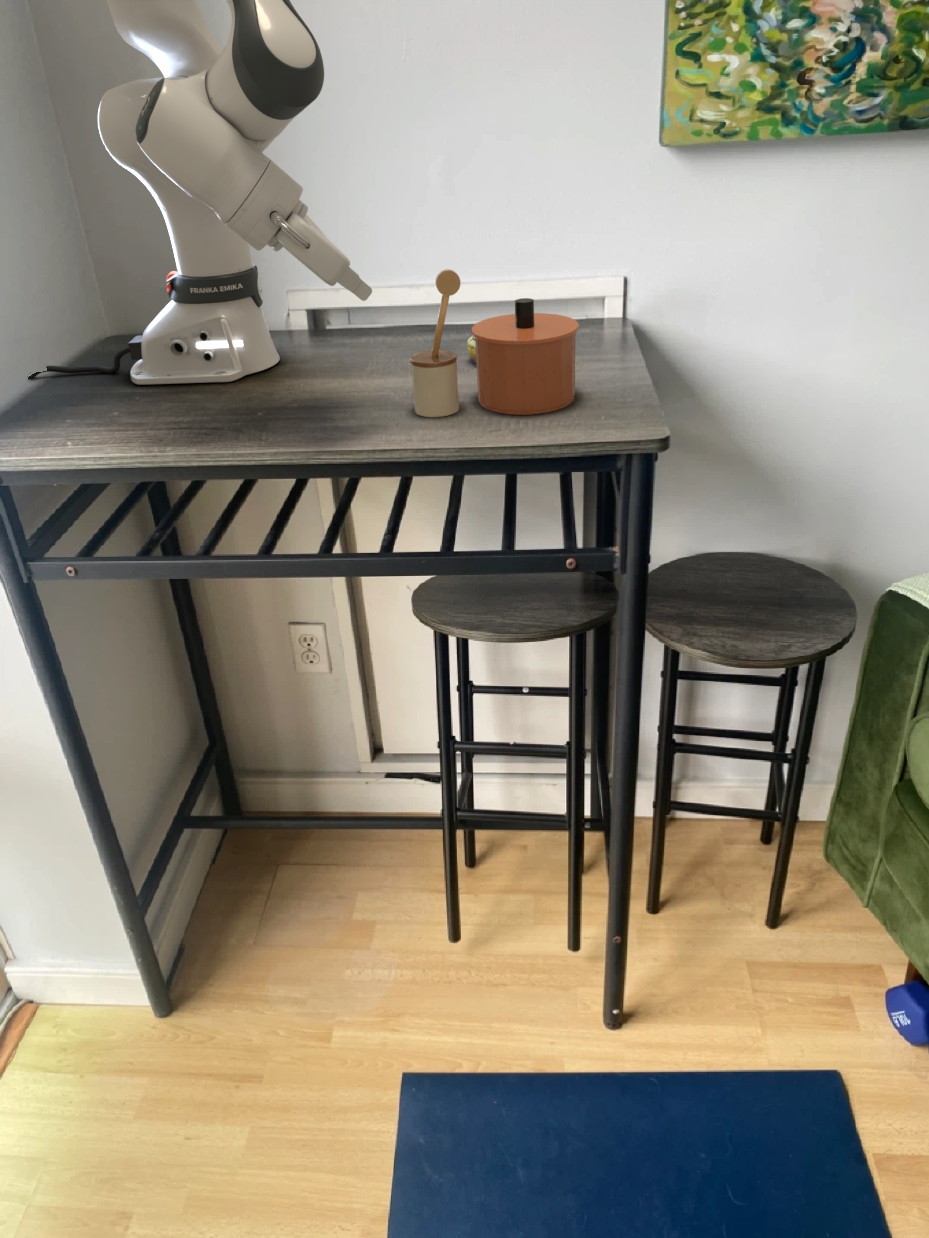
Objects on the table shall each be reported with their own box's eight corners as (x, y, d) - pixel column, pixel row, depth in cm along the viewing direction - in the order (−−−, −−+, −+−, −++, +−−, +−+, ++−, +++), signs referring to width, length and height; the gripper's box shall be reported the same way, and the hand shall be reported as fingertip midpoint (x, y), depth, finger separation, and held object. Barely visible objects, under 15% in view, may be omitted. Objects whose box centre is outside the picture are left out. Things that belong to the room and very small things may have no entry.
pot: (486, 419, 119) (482, 347, 114) (473, 388, 130) (469, 322, 125) (583, 409, 120) (584, 338, 115) (563, 380, 131) (563, 314, 126)
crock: (416, 419, 120) (404, 278, 111) (412, 404, 125) (401, 269, 116) (470, 414, 121) (462, 273, 112) (464, 400, 126) (456, 264, 117)
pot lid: (479, 354, 114) (477, 317, 112) (465, 326, 126) (464, 293, 123) (589, 344, 115) (590, 308, 113) (566, 317, 127) (566, 284, 124)
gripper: (293, 194, 99) (393, 281, 106) (277, 180, 116) (364, 256, 123) (257, 244, 100) (359, 326, 107) (247, 223, 118) (335, 295, 124)
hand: (362, 288), depth 115 cm, fingers open, 8 cm apart
